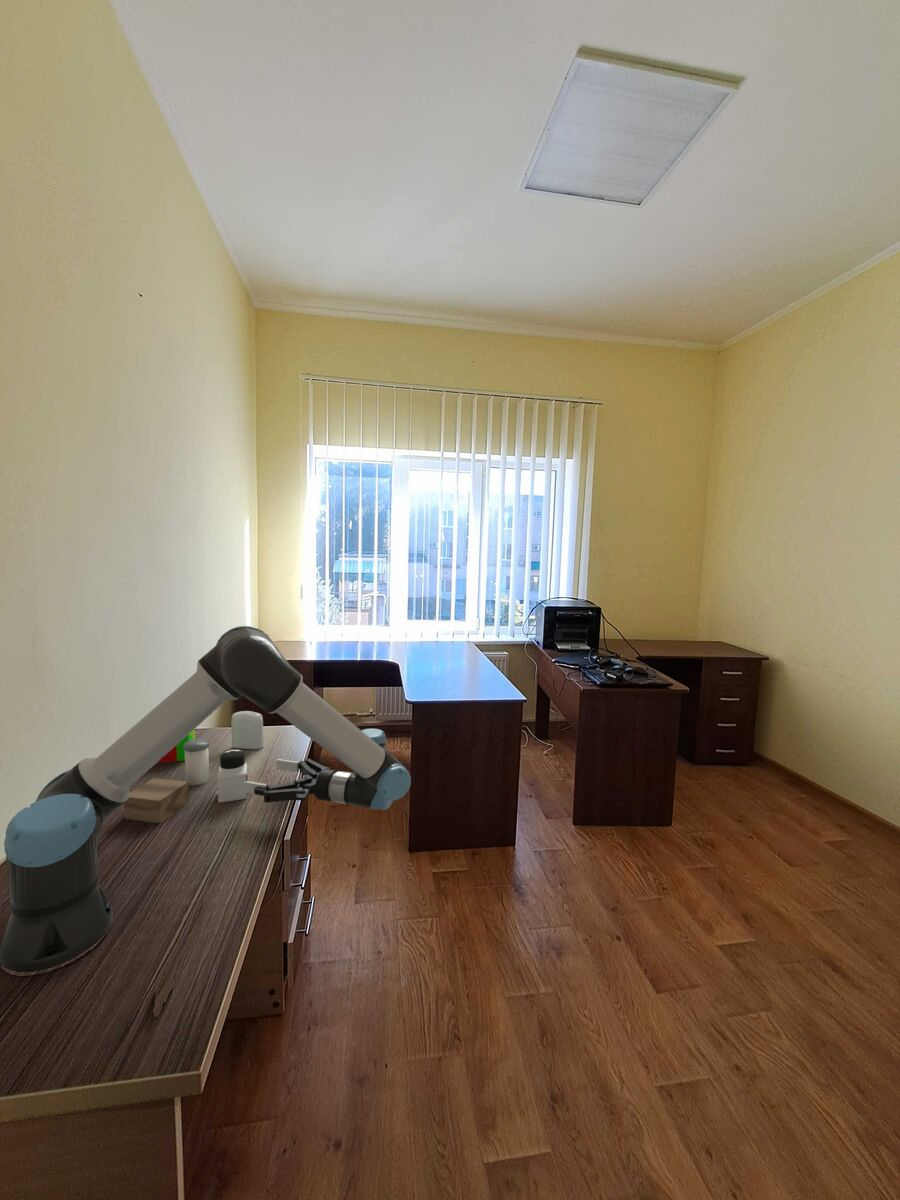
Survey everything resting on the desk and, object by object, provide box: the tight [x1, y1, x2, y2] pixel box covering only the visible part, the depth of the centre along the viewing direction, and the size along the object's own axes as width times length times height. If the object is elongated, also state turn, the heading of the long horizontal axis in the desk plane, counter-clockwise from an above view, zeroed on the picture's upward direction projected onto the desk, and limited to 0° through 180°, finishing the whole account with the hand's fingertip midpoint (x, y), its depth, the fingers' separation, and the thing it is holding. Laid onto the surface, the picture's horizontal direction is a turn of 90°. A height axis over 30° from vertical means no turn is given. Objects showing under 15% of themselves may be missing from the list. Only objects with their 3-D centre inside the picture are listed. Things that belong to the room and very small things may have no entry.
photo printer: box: [230, 710, 264, 750], centre depth 163 cm, size 10×4×12 cm, turn 85°
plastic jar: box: [184, 738, 210, 786], centre depth 140 cm, size 6×6×11 cm
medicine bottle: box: [217, 749, 249, 804], centre depth 133 cm, size 7×7×12 cm
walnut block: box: [123, 777, 190, 824], centre depth 125 cm, size 10×10×6 cm
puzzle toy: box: [156, 728, 196, 764], centre depth 156 cm, size 10×10×10 cm
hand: (262, 774), depth 131 cm, fingers open, 13 cm apart
